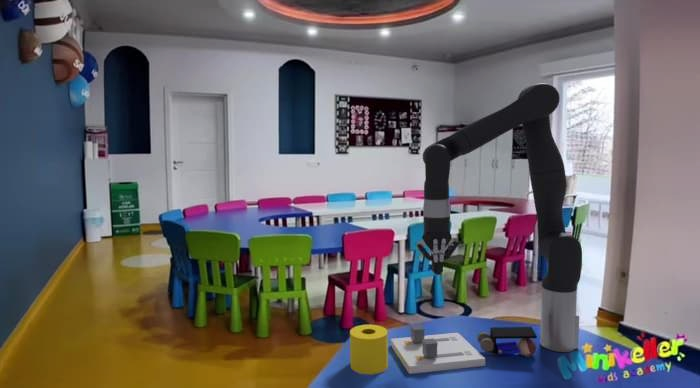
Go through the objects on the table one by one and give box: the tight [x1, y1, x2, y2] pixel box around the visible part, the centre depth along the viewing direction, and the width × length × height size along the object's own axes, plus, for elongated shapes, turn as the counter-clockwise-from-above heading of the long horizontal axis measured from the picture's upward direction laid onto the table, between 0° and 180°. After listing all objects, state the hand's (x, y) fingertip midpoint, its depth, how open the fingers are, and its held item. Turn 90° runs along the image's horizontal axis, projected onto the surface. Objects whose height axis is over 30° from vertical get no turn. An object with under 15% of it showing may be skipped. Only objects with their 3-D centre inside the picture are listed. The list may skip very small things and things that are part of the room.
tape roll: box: [349, 324, 389, 375], centre depth 127 cm, size 10×10×9 cm
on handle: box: [422, 339, 438, 358], centre depth 127 cm, size 3×3×4 cm
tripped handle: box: [410, 324, 426, 343], centre depth 137 cm, size 3×3×4 cm
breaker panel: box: [390, 332, 486, 375], centre depth 133 cm, size 21×18×2 cm
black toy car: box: [477, 326, 538, 357], centre depth 132 cm, size 7×8×15 cm
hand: (437, 274), depth 137 cm, fingers closed
